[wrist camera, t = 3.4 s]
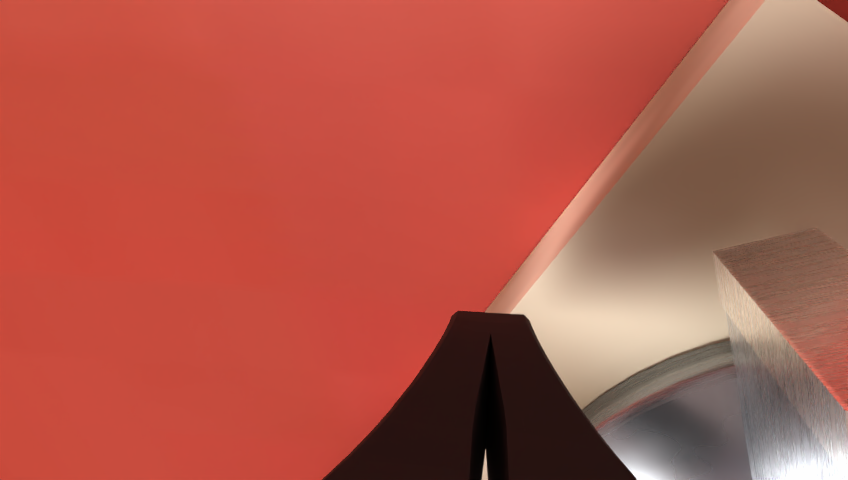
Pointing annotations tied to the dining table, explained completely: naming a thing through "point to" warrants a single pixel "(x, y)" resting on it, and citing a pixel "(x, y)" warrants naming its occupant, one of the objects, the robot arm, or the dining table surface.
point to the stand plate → (693, 196)
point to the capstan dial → (749, 376)
